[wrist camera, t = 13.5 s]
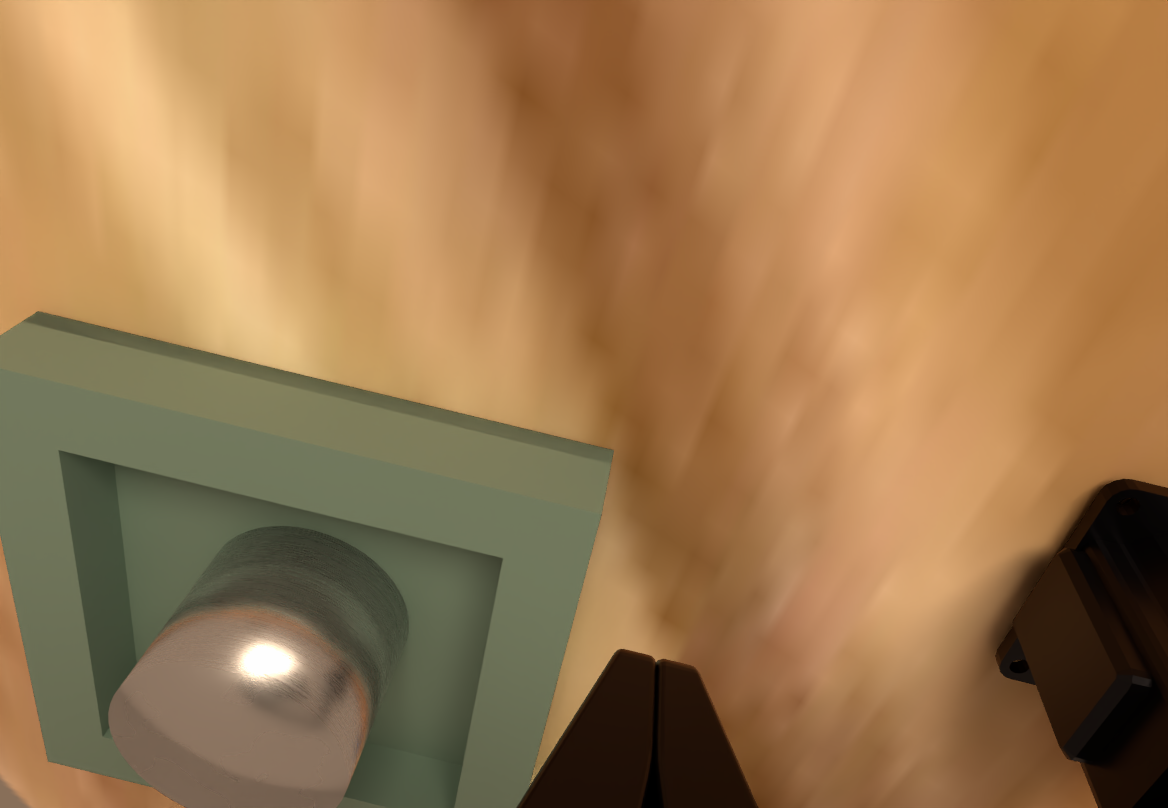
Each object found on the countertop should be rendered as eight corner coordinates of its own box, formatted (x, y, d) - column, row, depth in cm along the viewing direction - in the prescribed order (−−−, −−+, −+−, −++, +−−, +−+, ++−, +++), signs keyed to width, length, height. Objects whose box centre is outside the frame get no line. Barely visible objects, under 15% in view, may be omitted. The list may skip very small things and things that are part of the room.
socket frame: (613, 450, 22) (601, 514, 20) (521, 801, 30) (505, 875, 28) (38, 311, 22) (-37, 359, 20) (97, 696, 30) (48, 761, 28)
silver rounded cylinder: (420, 557, 24) (357, 703, 20) (398, 698, 27) (339, 851, 23) (207, 503, 24) (98, 638, 20) (210, 650, 27) (116, 794, 23)
